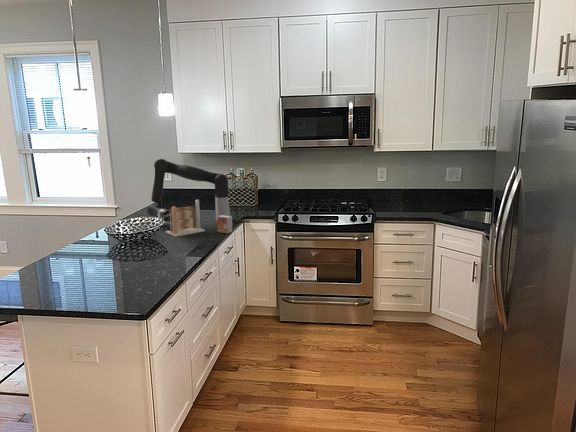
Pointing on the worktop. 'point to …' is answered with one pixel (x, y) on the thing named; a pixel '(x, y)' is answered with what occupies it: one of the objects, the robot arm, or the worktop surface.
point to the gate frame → (185, 231)
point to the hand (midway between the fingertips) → (176, 219)
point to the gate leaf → (184, 218)
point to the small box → (224, 224)
